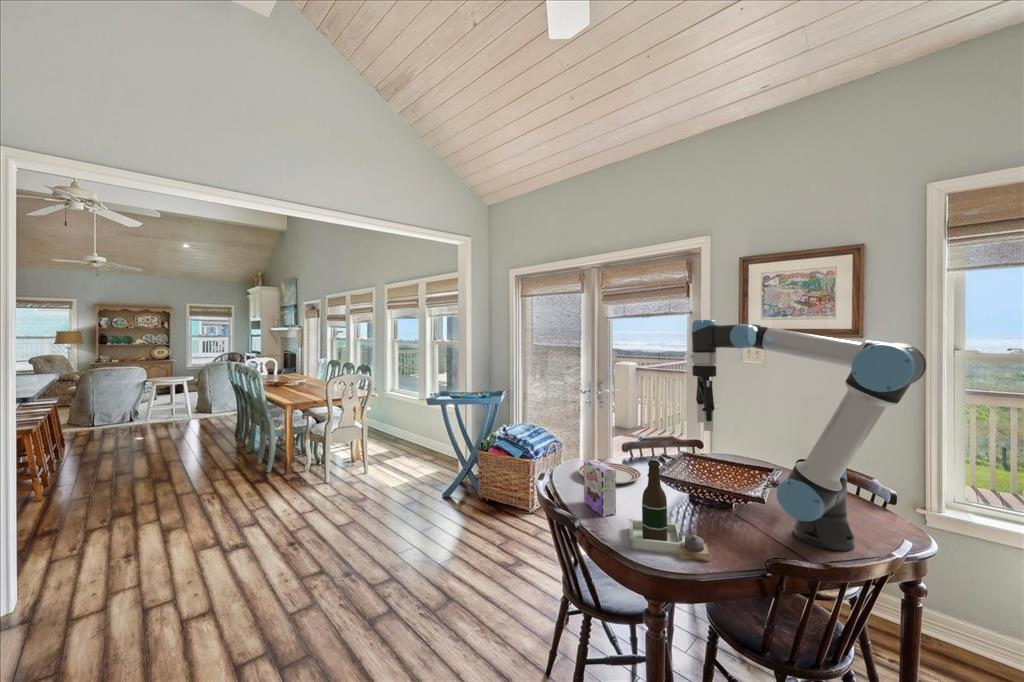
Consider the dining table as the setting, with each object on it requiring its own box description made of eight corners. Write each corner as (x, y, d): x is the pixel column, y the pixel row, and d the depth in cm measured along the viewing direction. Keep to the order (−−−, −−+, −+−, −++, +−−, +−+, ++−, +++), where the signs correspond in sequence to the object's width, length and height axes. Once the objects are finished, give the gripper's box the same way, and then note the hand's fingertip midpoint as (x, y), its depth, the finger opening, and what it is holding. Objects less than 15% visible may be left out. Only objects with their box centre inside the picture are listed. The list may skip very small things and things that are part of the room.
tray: (678, 533, 137) (678, 523, 137) (683, 554, 123) (683, 544, 123) (629, 528, 141) (629, 519, 141) (629, 549, 127) (629, 539, 127)
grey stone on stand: (705, 550, 126) (705, 532, 126) (709, 561, 120) (709, 542, 120) (676, 547, 128) (676, 529, 128) (678, 557, 122) (678, 538, 122)
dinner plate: (642, 471, 200) (642, 464, 200) (640, 491, 174) (640, 483, 174) (583, 466, 209) (583, 459, 209) (573, 485, 183) (573, 477, 183)
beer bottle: (672, 538, 132) (671, 460, 132) (662, 547, 127) (661, 466, 126) (648, 530, 138) (647, 456, 137) (637, 539, 132) (636, 462, 132)
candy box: (583, 503, 163) (583, 460, 163) (597, 501, 165) (596, 458, 164) (602, 517, 150) (601, 470, 149) (616, 515, 151) (616, 468, 151)
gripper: (687, 362, 160) (688, 419, 160) (698, 367, 136) (698, 434, 136) (709, 362, 158) (709, 419, 158) (724, 367, 134) (724, 435, 134)
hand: (704, 426), depth 147 cm, fingers open, 13 cm apart
